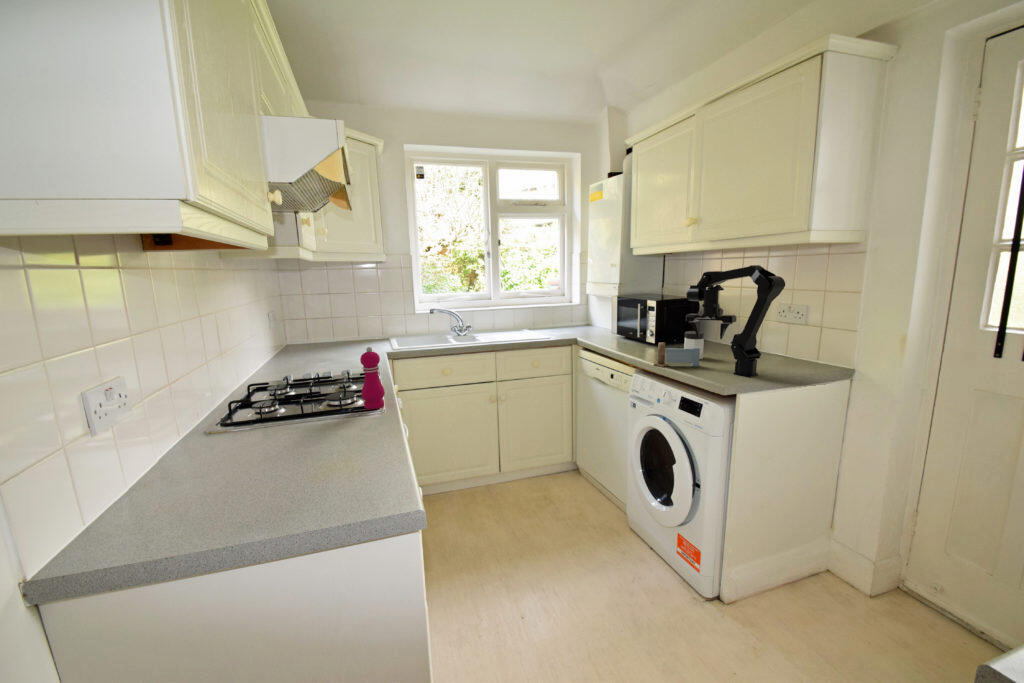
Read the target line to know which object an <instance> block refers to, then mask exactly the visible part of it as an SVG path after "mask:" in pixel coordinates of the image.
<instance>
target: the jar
mask: <svg viewBox="0 0 1024 683" xmlns="http://www.w3.org/2000/svg"><path fill="white" fill-rule="evenodd" d="M704 338H705V332H704V331H700V337H699V338H698V337H697V335H696V332H695V330H688V331H685V332H684V344H683V349H692V348H693V347H699V348H700V356H699V360H703V359H704V343H705V342H704V340H705V339H704Z"/></svg>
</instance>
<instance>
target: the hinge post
mask: <svg viewBox="0 0 1024 683" xmlns="http://www.w3.org/2000/svg"><path fill="white" fill-rule="evenodd" d="M668 365H670V363H666V342H658V346H657V362H655V363H653V366H654V367H659V368H665V367H669V366H668ZM664 366H665V367H664Z"/></svg>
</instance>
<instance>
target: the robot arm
mask: <svg viewBox="0 0 1024 683" xmlns="http://www.w3.org/2000/svg"><path fill="white" fill-rule="evenodd" d="M747 277H749V278H750V279H751V280H752V282H753V283H754V284H755V285H756V286H757V289H756V296H757V299H756V301H755V303H754V305H753V308H752V309H751V312H750V314H749V316H748V319H747V321H746V322H745V325H744V327H743V330H742V331H741V333H735V334H734V335H733V338H732V340H731V342H730V344H731V345H730V349H731V352H732V354H733V358H734V360H736V361H735V364H734V372H733V375H737V376H743V377H748V378H751V377H755V376H758V375H759V372H757V366H758V365H757V364H758V360H760V359H761V356H762V353H761V352H760V351H759V349H758V348H757V347H756V346H757V343H758V341H757V334H758V332H759V330H760V328H761V325H762V324H763V322H764V320H765V317H766V315H767V313H768V310H769V309H770V306H771V304H772V302H773V301H775V299H777V298H778V297H779V296H780V295H781V293H782V292H783V290H784V289H785V287H786V281H785V279H784V278H783V277H781V276H779V275H776V274H775V273H773V272H771V271H769V270H767V269H765V267H763V266H762V265H760V264H757V265H756V264H753V265H749V266H744V267H739V268H734V269H728V270H712V271H711V270H709V271H708V270H707V271H703V273H702V275H701V278H700V279H699V280H698V283H697V284H694V285H693V284H692V285H690V286H689V288H688V289H687V291H686V293H685V294H686V298H687V300H688V301H691V302H703V303H702V304H701V305H702V306H701V307H702V314H701V315H700V313H688V314H686V315H685V322H688V324H690V325H691V326H692V328H693V331H695V332H696V335H697V337H698V338H699V337H700V332H701V329H700V328H701V327H700V325H701V322H702V321H719V322H720V321H721V323H720V328H719V330H720V331H719V338H720V340H723V338H724V336H725V333H726V331H727V329H728V327H729V326H730V325H732V324H733V323H736V322H737V319H738V318H737V315H736V314H724V309H722V308H721V306H720V305H721V304H720V303H719V301H720V300H719V297H720V291H722V292H723V291H724V290H725V288H724V287H722V286H721V284H723V283H726V282H728V281H730V280H731V281H732V280H736V279H742V278H743V279H744V278H747Z"/></svg>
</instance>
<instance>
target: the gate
mask: <svg viewBox="0 0 1024 683" xmlns="http://www.w3.org/2000/svg"><path fill="white" fill-rule="evenodd" d="M699 356H700V348H699V347H693V348H692V349H684V348H669V347H668V348H667V347H665V363H667V364H671V363H672V364H674V363H675V364H676V363H677V364H678V363H679V364H681V363H682V364H691V366H692V367H699V366H700V359H699Z"/></svg>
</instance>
